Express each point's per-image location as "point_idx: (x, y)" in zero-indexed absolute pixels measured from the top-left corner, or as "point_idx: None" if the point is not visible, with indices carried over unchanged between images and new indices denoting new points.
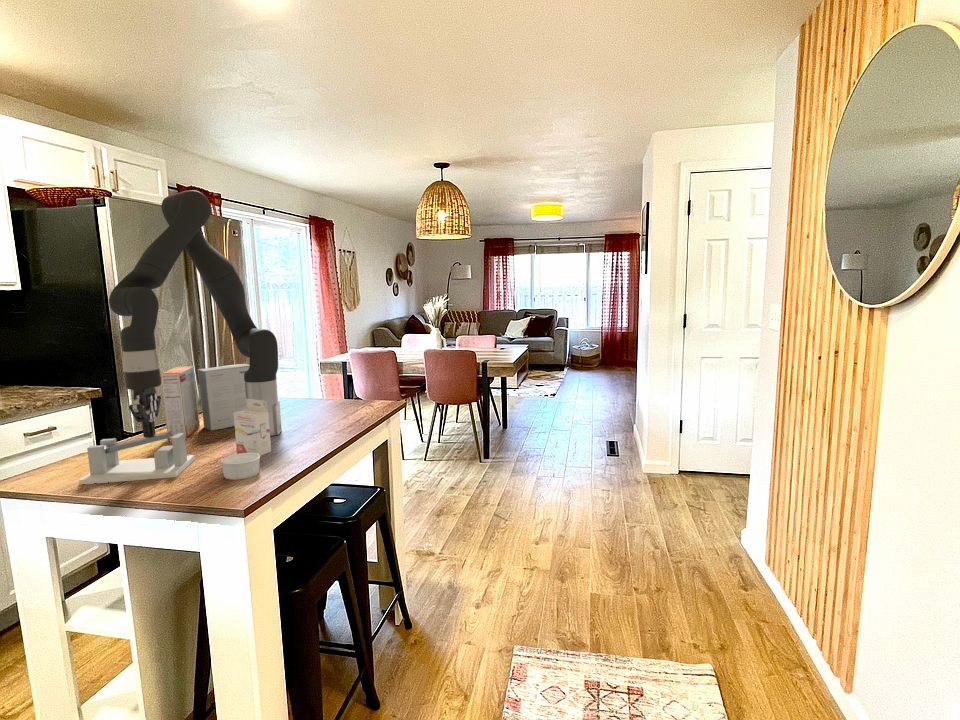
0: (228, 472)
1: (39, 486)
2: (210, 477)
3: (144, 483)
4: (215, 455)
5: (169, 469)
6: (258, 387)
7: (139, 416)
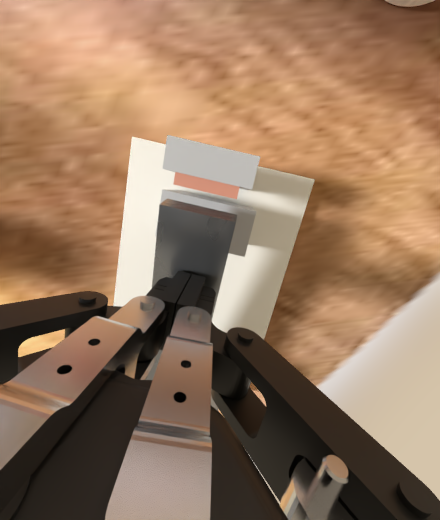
0: None
1: None
2: (382, 64)
3: (319, 258)
4: (116, 69)
5: (271, 202)
6: None
7: (226, 402)
